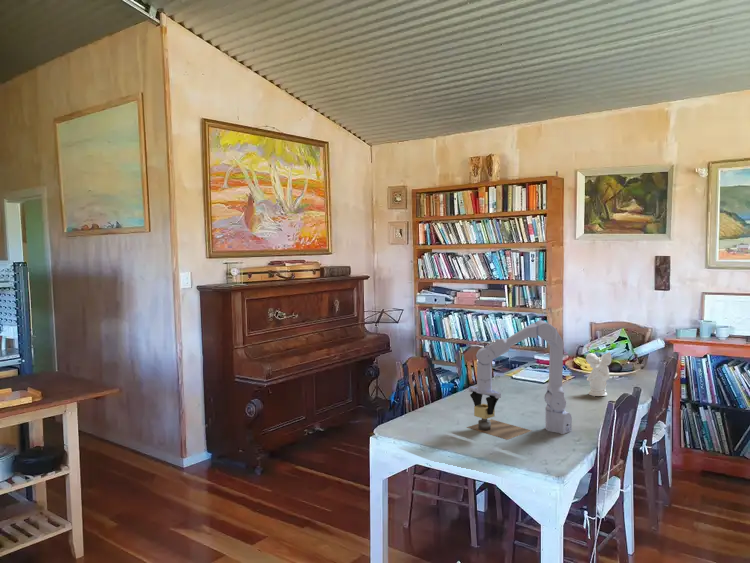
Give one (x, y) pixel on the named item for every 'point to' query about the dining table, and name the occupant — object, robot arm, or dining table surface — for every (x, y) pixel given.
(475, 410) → the brass collar
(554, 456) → the dining table surface
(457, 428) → the dining table surface
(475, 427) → the peg board
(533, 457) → the dining table surface
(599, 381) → the cherub figurine
